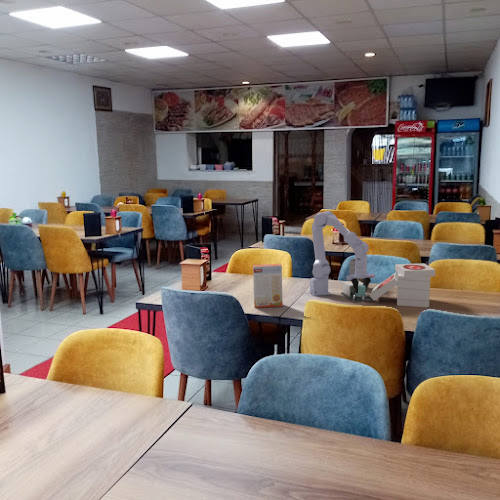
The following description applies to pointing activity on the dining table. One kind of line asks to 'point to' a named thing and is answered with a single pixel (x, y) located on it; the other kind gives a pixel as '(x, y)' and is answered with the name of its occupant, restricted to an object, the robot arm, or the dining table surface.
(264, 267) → the cracker box
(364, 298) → the pin base
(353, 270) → the coffee box
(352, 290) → the housing cover
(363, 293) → the jaw block
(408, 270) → the pizza box stack
